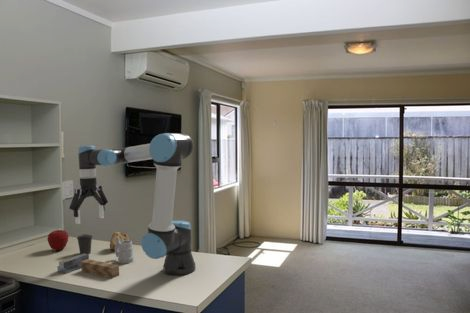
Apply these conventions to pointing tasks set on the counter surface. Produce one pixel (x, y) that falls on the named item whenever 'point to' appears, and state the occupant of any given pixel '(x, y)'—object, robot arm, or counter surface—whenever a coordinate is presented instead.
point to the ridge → (72, 263)
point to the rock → (121, 236)
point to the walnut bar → (100, 268)
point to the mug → (124, 251)
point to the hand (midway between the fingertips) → (90, 220)
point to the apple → (58, 239)
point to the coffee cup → (85, 243)
